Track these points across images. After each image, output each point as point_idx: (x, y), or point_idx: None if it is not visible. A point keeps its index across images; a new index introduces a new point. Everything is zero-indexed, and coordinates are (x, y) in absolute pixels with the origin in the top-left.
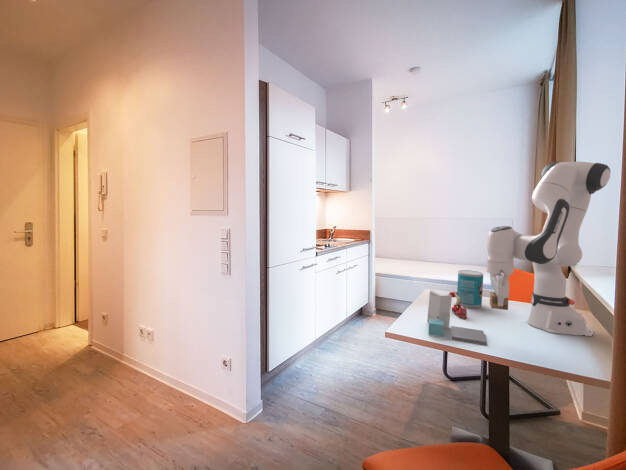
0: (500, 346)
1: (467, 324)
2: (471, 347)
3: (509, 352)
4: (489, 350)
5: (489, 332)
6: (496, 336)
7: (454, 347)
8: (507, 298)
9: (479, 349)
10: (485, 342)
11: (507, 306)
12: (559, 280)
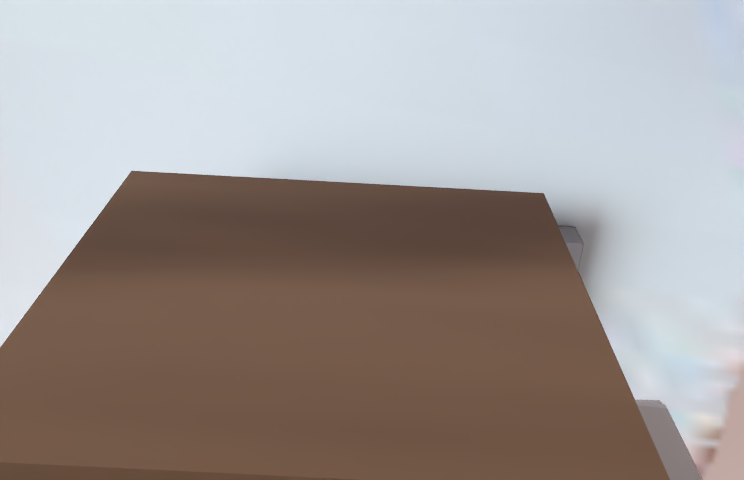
0: (570, 88)
1: (13, 322)
2: (670, 357)
3: (726, 23)
4: (710, 218)
5: (150, 132)
6: (253, 73)
7: (701, 472)
8: (638, 464)
9: (704, 300)
10: (579, 248)
11: (562, 258)
12: None
